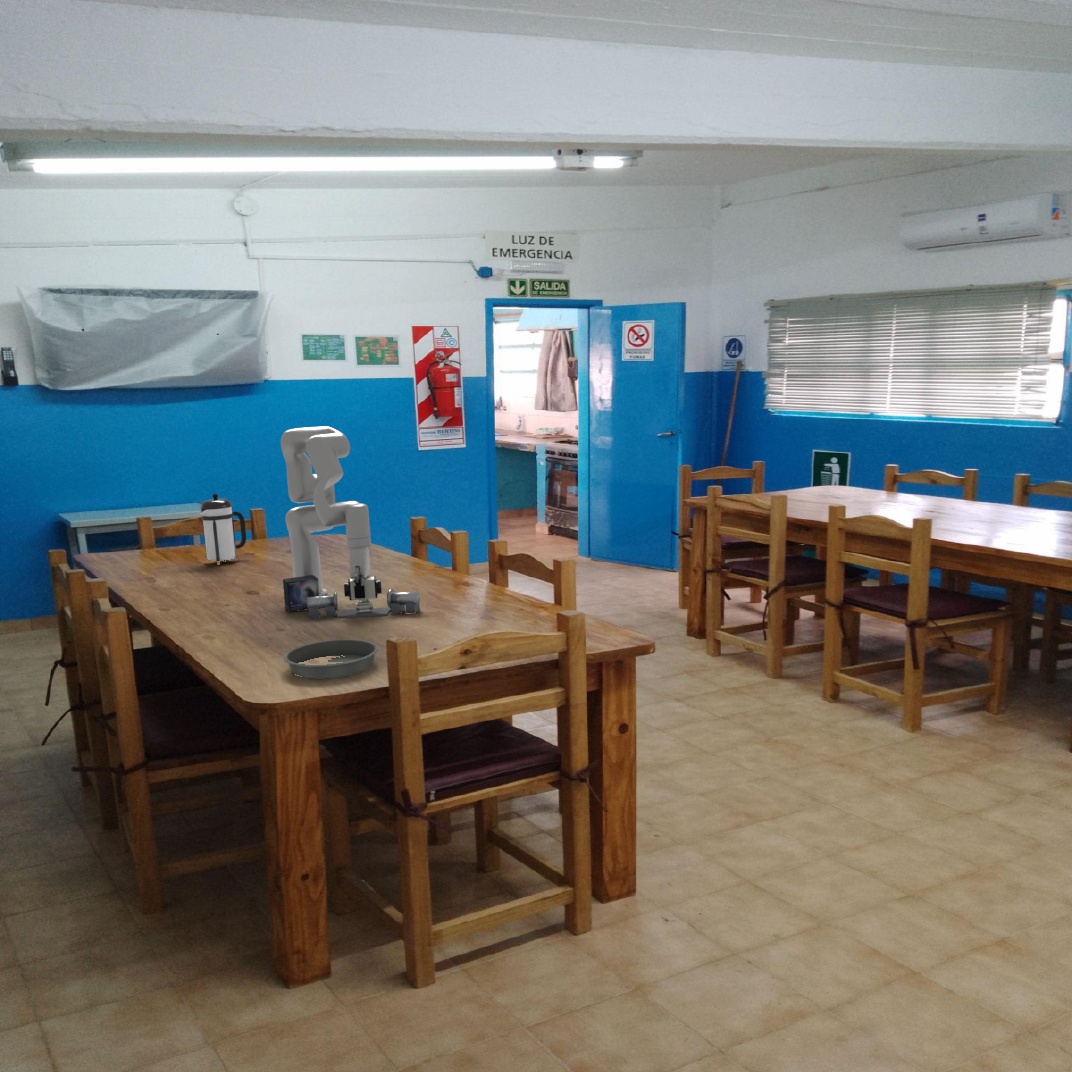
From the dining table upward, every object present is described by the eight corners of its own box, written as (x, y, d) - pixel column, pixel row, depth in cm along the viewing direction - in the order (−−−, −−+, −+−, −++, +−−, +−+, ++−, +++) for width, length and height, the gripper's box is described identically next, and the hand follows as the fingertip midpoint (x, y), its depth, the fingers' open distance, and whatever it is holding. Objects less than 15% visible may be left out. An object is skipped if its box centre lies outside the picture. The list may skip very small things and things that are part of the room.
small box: (289, 613, 339) (286, 581, 338) (284, 609, 345) (281, 578, 343) (321, 608, 344) (318, 577, 342) (315, 604, 350) (312, 574, 348)
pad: (337, 617, 329) (337, 616, 329) (343, 611, 338) (343, 609, 337) (386, 615, 328) (386, 613, 328) (391, 609, 337) (391, 607, 337)
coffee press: (236, 565, 432) (229, 494, 427) (199, 567, 433) (191, 496, 428) (248, 557, 449) (242, 489, 444) (212, 559, 450) (205, 491, 445)
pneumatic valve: (383, 611, 331) (380, 575, 329) (346, 615, 329) (343, 578, 327) (382, 608, 336) (380, 572, 334) (346, 611, 335) (343, 575, 333)
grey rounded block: (388, 614, 330) (386, 591, 328) (394, 610, 335) (392, 587, 334) (416, 614, 328) (414, 591, 327) (421, 609, 334) (420, 587, 332)
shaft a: (308, 619, 329) (306, 596, 328) (309, 614, 335) (307, 592, 334) (338, 616, 330) (336, 593, 329) (338, 612, 336) (336, 589, 335)
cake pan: (268, 681, 264) (267, 664, 264) (308, 654, 288) (307, 638, 287) (359, 682, 259) (357, 665, 258) (392, 655, 283) (391, 639, 282)
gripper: (352, 538, 338) (356, 589, 341) (341, 547, 321) (345, 601, 324) (375, 537, 337) (379, 588, 340) (365, 546, 320) (369, 600, 323)
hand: (363, 594), depth 332 cm, fingers open, 9 cm apart
